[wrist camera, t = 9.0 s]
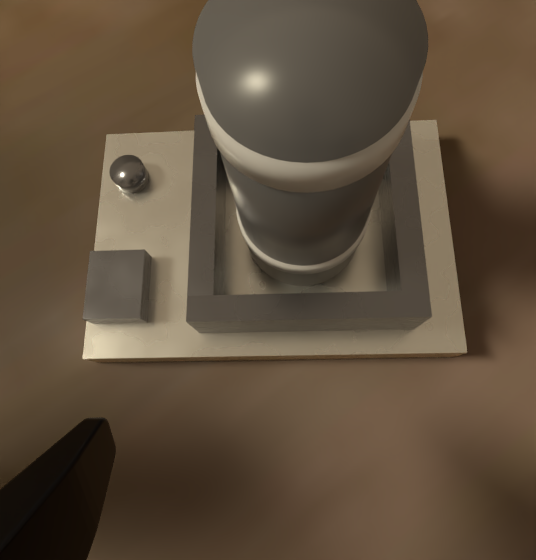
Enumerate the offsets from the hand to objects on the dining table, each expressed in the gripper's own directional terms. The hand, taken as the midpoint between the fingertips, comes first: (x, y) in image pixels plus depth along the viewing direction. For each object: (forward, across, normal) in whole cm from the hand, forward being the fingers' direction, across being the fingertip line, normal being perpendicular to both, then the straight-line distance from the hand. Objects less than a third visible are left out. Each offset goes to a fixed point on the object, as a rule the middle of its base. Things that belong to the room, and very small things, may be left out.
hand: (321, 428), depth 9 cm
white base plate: (+13, +1, +1) cm, 13 cm away
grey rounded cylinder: (+12, 0, 0) cm, 12 cm away
